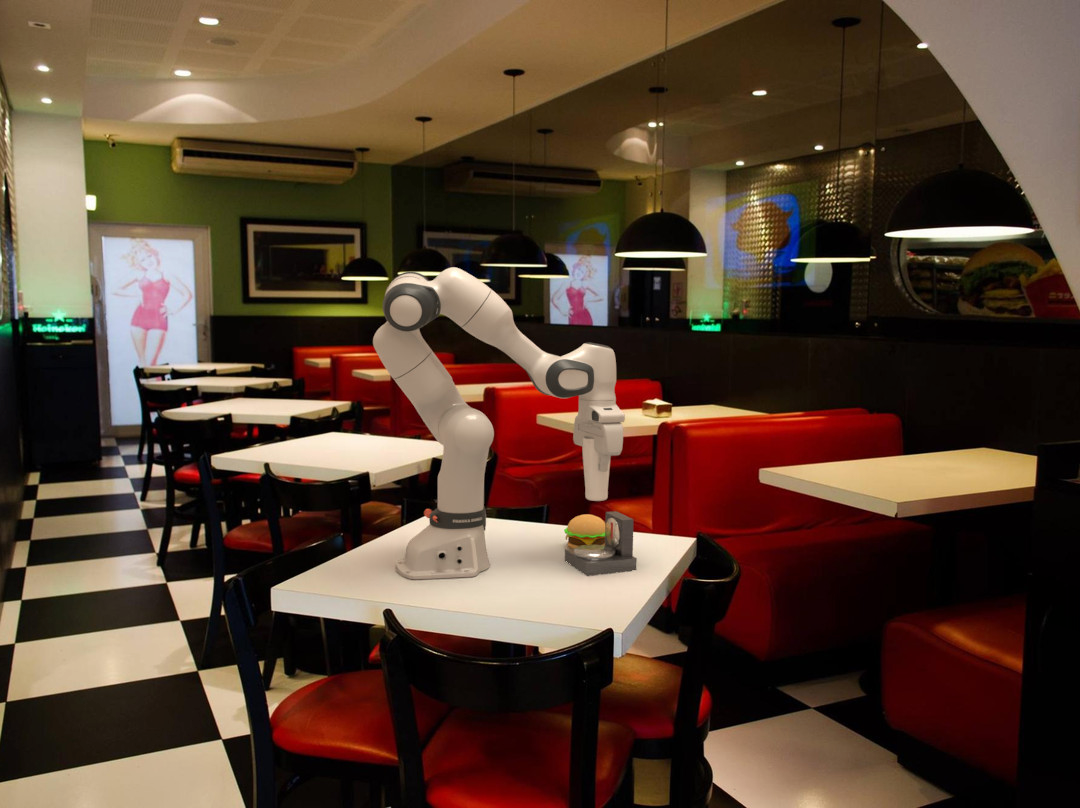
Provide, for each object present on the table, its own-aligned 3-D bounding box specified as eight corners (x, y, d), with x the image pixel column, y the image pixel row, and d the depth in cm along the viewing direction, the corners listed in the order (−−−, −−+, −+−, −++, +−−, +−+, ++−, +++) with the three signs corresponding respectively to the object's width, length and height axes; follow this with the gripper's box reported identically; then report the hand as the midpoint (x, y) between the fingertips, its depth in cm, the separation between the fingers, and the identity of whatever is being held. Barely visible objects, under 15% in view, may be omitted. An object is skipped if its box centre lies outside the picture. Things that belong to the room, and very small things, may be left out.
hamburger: (619, 547, 223) (619, 515, 222) (589, 556, 214) (590, 523, 213) (584, 539, 231) (584, 508, 230) (554, 547, 222) (555, 515, 221)
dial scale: (587, 576, 198) (588, 525, 196) (564, 560, 210) (565, 513, 208) (636, 570, 202) (637, 521, 201) (611, 556, 214) (612, 509, 213)
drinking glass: (579, 501, 201) (579, 438, 200) (586, 495, 208) (586, 435, 206) (607, 502, 199) (607, 439, 198) (613, 497, 206) (613, 436, 204)
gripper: (567, 407, 210) (566, 462, 211) (603, 416, 191) (602, 476, 192) (590, 406, 212) (589, 460, 214) (628, 415, 193) (627, 475, 195)
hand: (595, 468), depth 203 cm, fingers closed on drinking glass, 6 cm apart
